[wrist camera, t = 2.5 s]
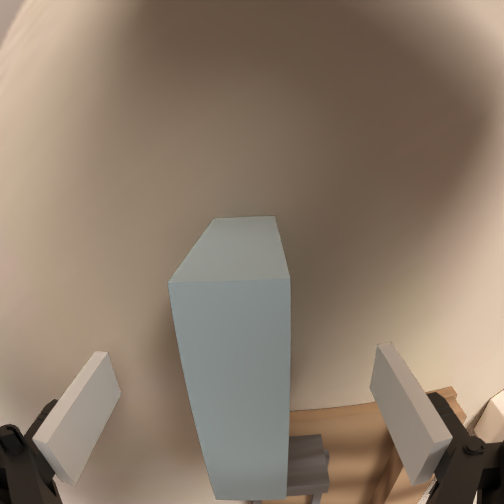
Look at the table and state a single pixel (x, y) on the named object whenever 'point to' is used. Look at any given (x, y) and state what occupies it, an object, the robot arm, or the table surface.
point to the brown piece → (348, 457)
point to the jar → (492, 421)
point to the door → (237, 353)
